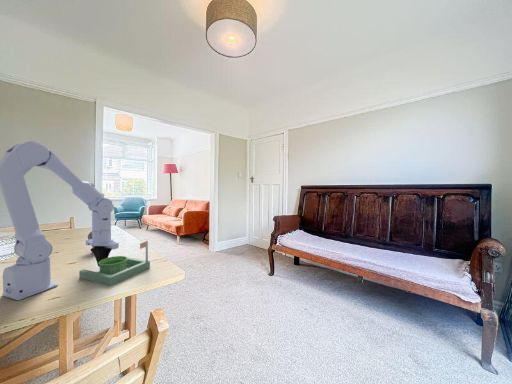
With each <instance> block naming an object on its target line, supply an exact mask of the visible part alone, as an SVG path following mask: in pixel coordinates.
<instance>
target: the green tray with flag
mask: <svg viewBox="0 0 512 384" xmlns="http://www.w3.org/2000/svg"><path fill="white" fill-rule="evenodd" d="M144 248H145V259H140V258H133V257H128V256H126V257H127V258H128V260H127V266H130V267H127V268H126V269H125V270H123V271H120V272H118V273H115V274H113V275H108V274H103V273H100V271H99V272H98V271H94V270H88V269H81V270H79V272H78V275H79V279H81V280H86V281H90V282H93V283H98V284H101V285H102V284H103V285H106V286H112V285H114V284H117V283H118V282H122V281H123V280H126V279H128V278H130V277H132V276H135V275H137V274H139V273H141V272H143V271H145V270H148V269H149V267H150V268H151V266H150V265H151V261H150V260H149V241H148V240H145V241H142V242H140V243H139V249H140V250H141V249H144ZM147 268H148V269H147Z"/></svg>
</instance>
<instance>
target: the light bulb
mask: <svg viewBox="0 0 512 384" xmlns="http://www.w3.org/2000/svg"><path fill="white" fill-rule="evenodd" d="M89 239H92V231H90V232H89V233H88V235H87V240H89ZM94 247H95V246H93V245H91V248H94Z"/></svg>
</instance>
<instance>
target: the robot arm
mask: <svg viewBox="0 0 512 384" xmlns="http://www.w3.org/2000/svg"><path fill="white" fill-rule="evenodd" d="M34 167H38V168H42V169H45V170H49V171H51V173H54V174H55V175H56V176H58V178H60V179H61V180H63V182H65V183H66V184H68V185H69V186H70V187H71V188H72V190H71V191H72V194H73V195H74V196H76V197H77V198H78V199H79V200H80V201H82V202H83V203H85V205H87V207H88V210H89V211H91V218H92V219H91V230H92V239H89V240H88V239H85V246H92V245H93V246H95V247H94V248H92V247H91V248H90V252H91V253H92V254H93V256H94V258H95V260H96V264H97V266H98V267H99V264H98V263H99V261H100V260H102V259H105V258H109V257H110V254H111V251H112V250H116V249H119V247H120V246H119V242H116V241H114V239H113V238H112V224H111V223H112V221H111V219H112V211H113V210H114V208H115V204H113V201H112V200H111V199H110V198H106V197H105V194H104V193H103V192H102V193H101V192H100V191H99V190H98V189H97V188H96V187H95V186H96V185H95V183H92V182H91V183H90V182H89V181H83V180H81V179H80V178H79V177H78V175H76V173H74V172H73V171H72V170H71V168H69V167H68V165H66V163H64V161H62V160H61V159H60V158H59V156H58V155H57V154H56V153H55V152H54V151H52V150H49V148H48V147H47V146H46V145H45V144H43V143H41V142H39V141H36V140H34V141H33V140H31V141H26V142H25V141H24V143H18V144H15V145H13V146H11V147H10V148H8V149H7V150H6V151H5V153H4V155H3V157H2V159H1V160H0V190H1V193H2V196H3V198H4V202H5V205H6V208H7V211H8V214H9V217H10V219H11V222H12V226H13V228H14V239H15V244H14V247H13V250H14V253H15V255H17V256H18V258H17V259H16V261H15V263H14V264H13V265H10V266H7V267H5V268H4V269H3V272H2V290H3V291H2V292H3V293H1V296H3V297H6V298H9V299H12V300H16V301H20V300H24V299H25V298H28V297H31V296H33V295H36V294H39V293H41V292H44V291H47V290H50V289H53V288H55V287H57V286H59V284H58V283H55V282H52V280H51V279H52V278H51V276H52V275H51V254H52V253H53V248H54V247H53V245H52V243H50V242H49V241H48V240H47V239H46V236H45V234H44V232H43V231H42V229H41V228H40V225H39V222H38V219H37V216H36V213H35V209H34V206H33V202H32V200H31V197H30V193H29V189H28V186H27V184H26V181H25V175H26V174H28V172H30V171H31V170H32V169H33V168H34ZM99 268H100V267H99Z"/></svg>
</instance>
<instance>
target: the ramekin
mask: <svg viewBox="0 0 512 384" xmlns="http://www.w3.org/2000/svg"><path fill="white" fill-rule="evenodd" d="M127 257H128V256H126V255H125V256H124V255H117V256H116V255H115V256H108V258H105V259H102V260H100V261H99V263H98V264H99V273H103V274H108V275H113V274H115V273H118V272H120V271H123V270H125V269H128V265H127V260H128V258H127ZM98 264H97V265H98Z"/></svg>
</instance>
